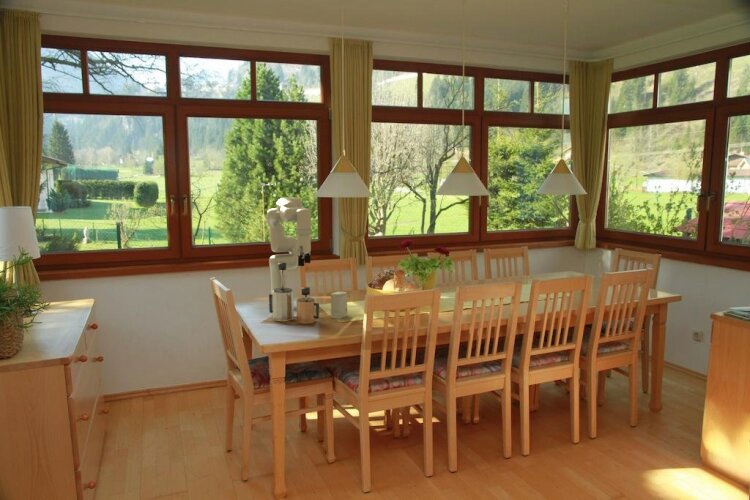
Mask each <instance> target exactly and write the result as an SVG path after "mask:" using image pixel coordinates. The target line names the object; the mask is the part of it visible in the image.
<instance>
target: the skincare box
mask: <svg viewBox="0 0 750 500" xmlns="http://www.w3.org/2000/svg"><path fill="white" fill-rule="evenodd" d="M330 317H331V319H336V320H340V319H342V318H346V317H348V292H347V291H335V292H333V293H330Z"/></svg>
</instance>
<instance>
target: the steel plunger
mask: <svg viewBox="0 0 750 500" xmlns="http://www.w3.org/2000/svg"><path fill="white" fill-rule="evenodd" d="M278 270H281V273H282V290H284V280H283V272H284V271H286V263H285V262H280V263H278Z"/></svg>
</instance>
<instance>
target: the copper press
mask: <svg viewBox="0 0 750 500" xmlns="http://www.w3.org/2000/svg"><path fill="white" fill-rule="evenodd" d="M296 316H297V323H299V324H312V323H315V318H316V319H318V318H320V303H319V302H316V299H315V298H314V297H309V296H307V300H305V296H304V297H303V296H302V297H298V298H297V299H296Z"/></svg>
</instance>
